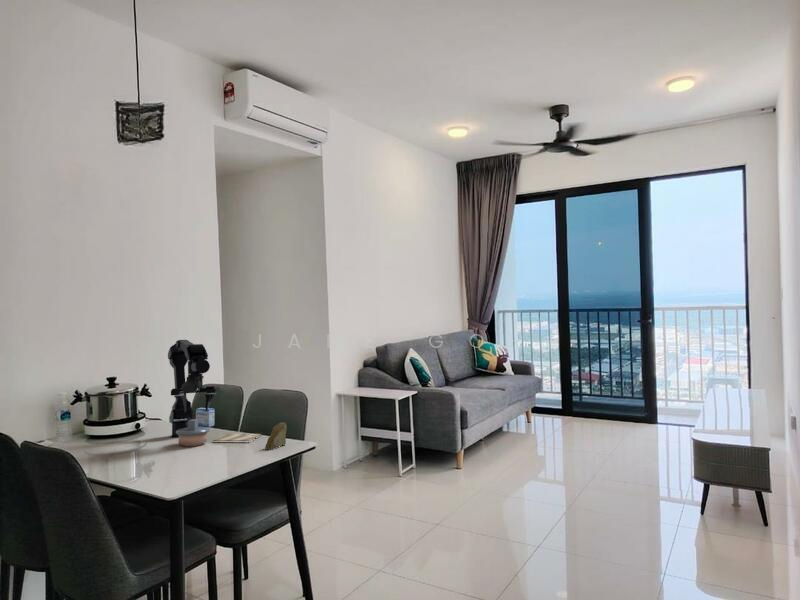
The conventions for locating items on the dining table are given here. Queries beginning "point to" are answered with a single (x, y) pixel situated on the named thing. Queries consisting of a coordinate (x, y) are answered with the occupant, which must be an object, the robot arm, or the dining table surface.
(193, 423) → the lid
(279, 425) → the rock
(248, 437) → the board
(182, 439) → the bowl
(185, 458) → the dining table surface
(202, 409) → the medicine box
